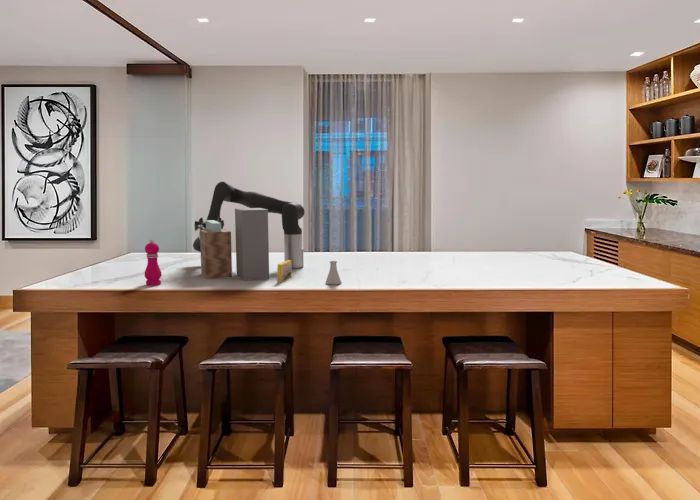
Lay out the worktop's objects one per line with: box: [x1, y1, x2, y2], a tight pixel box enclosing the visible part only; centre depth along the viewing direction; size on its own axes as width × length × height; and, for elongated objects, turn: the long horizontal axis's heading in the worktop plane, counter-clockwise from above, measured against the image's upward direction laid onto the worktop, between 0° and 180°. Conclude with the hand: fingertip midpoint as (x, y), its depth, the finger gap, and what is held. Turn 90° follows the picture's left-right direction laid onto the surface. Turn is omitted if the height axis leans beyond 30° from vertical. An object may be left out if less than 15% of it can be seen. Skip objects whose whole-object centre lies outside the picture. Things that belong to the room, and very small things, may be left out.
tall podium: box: [234, 207, 270, 281], centre depth 305 cm, size 12×16×32 cm
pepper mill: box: [144, 239, 163, 287], centre depth 287 cm, size 7×7×20 cm
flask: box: [325, 260, 342, 286], centre depth 287 cm, size 7×7×10 cm
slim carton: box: [205, 219, 221, 232], centre depth 314 cm, size 4×22×4 cm, turn 20°
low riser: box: [199, 228, 233, 280], centre depth 311 cm, size 12×16×22 cm
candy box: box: [276, 260, 292, 284], centre depth 299 cm, size 16×2×8 cm, turn 168°
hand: (210, 218), depth 320 cm, fingers open, 8 cm apart
